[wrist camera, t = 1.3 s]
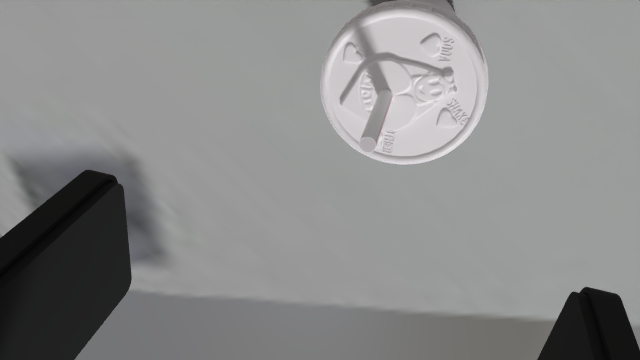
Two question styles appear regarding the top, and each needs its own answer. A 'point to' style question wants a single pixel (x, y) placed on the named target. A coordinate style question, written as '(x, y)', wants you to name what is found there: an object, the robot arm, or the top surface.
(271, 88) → the top surface
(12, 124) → the top surface
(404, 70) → the smoothie
